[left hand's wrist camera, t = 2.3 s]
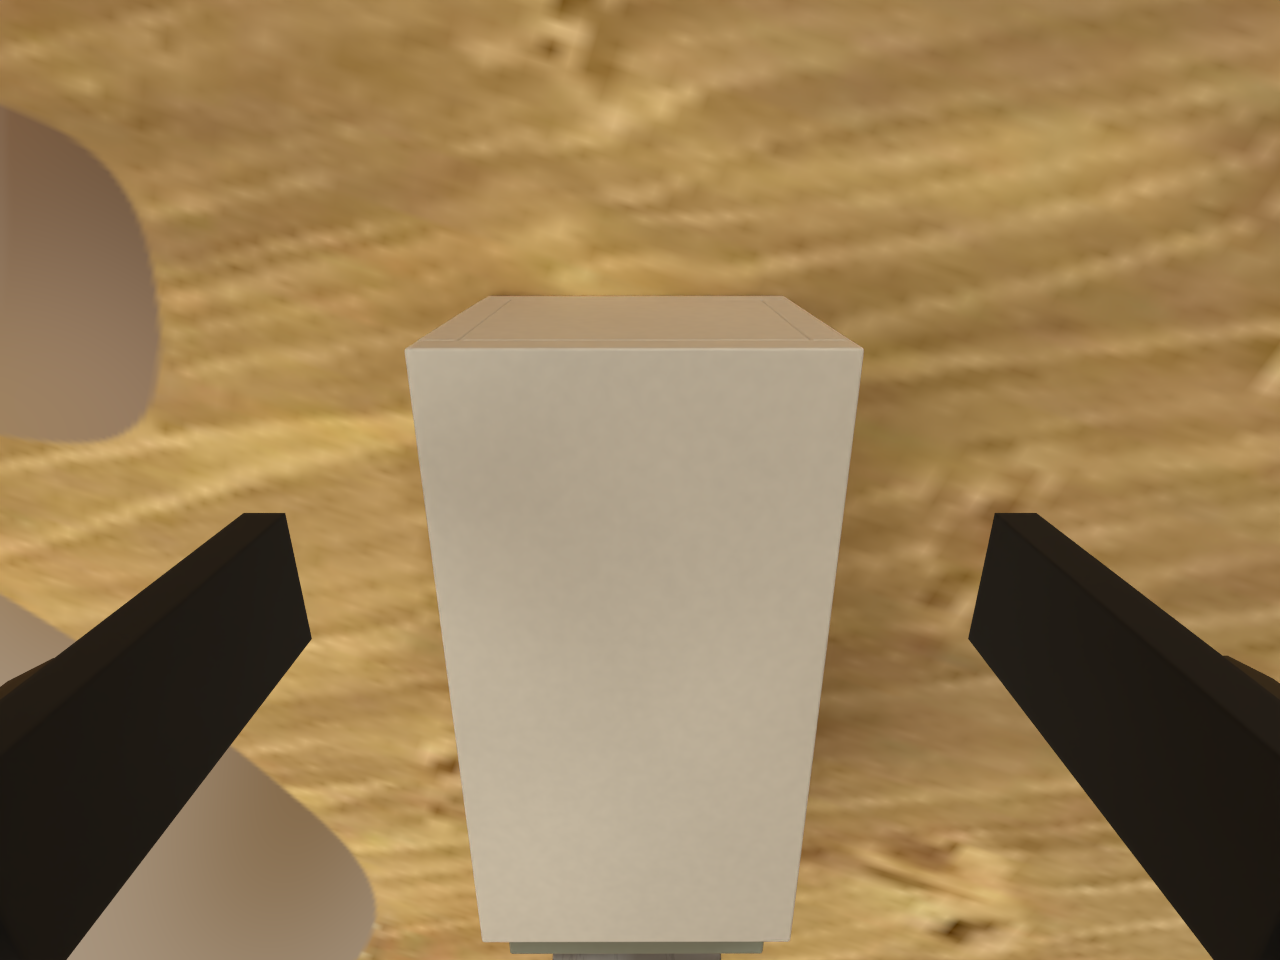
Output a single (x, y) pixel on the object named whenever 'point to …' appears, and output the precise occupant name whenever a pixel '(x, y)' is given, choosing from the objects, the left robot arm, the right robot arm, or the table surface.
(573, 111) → the table surface
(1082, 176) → the table surface
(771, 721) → the cabinet
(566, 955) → the drawer
